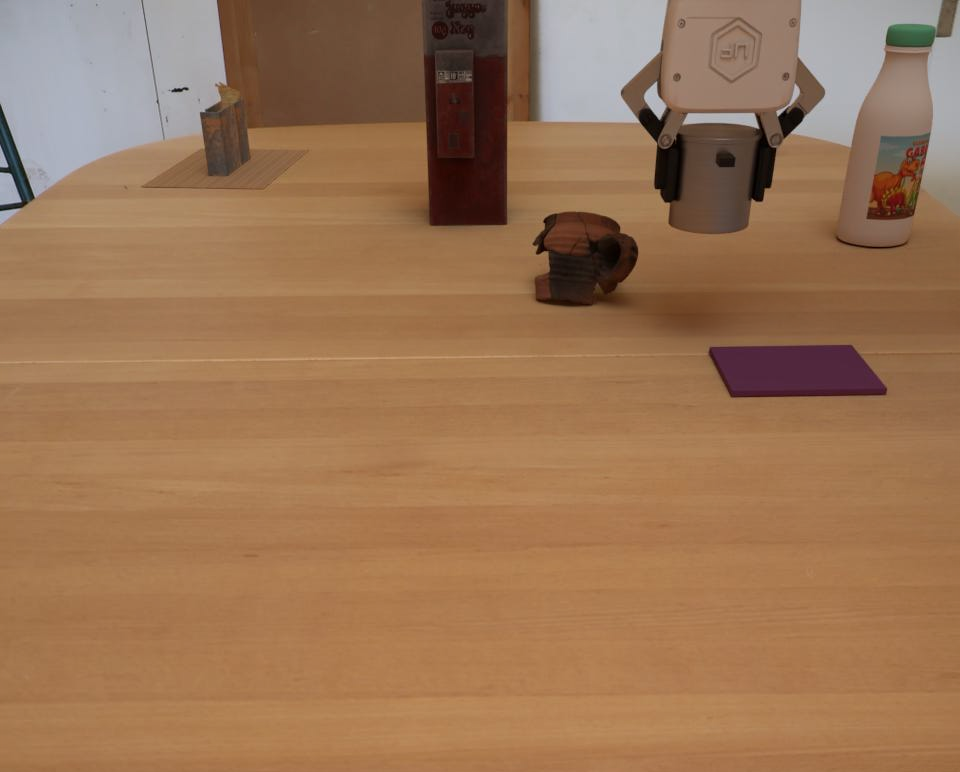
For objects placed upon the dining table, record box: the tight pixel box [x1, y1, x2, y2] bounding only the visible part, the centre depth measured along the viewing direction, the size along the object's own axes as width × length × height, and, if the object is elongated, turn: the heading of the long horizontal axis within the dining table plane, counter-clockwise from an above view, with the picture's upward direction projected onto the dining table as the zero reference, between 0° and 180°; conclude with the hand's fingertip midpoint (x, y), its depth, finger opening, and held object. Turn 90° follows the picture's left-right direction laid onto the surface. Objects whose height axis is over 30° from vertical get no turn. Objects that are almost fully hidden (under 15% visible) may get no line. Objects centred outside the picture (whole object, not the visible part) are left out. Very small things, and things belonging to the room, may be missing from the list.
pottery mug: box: [532, 211, 639, 306], centre depth 107 cm, size 12×10×8 cm
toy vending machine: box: [421, 0, 509, 226], centre depth 124 cm, size 9×11×28 cm
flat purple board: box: [708, 344, 888, 398], centre depth 91 cm, size 12×10×1 cm
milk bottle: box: [836, 23, 937, 248], centre depth 117 cm, size 8×8×20 cm
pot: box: [667, 122, 762, 235], centre depth 92 cm, size 7×10×7 cm
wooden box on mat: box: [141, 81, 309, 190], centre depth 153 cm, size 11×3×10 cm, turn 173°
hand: (711, 196), depth 93 cm, fingers closed on pot, 6 cm apart
